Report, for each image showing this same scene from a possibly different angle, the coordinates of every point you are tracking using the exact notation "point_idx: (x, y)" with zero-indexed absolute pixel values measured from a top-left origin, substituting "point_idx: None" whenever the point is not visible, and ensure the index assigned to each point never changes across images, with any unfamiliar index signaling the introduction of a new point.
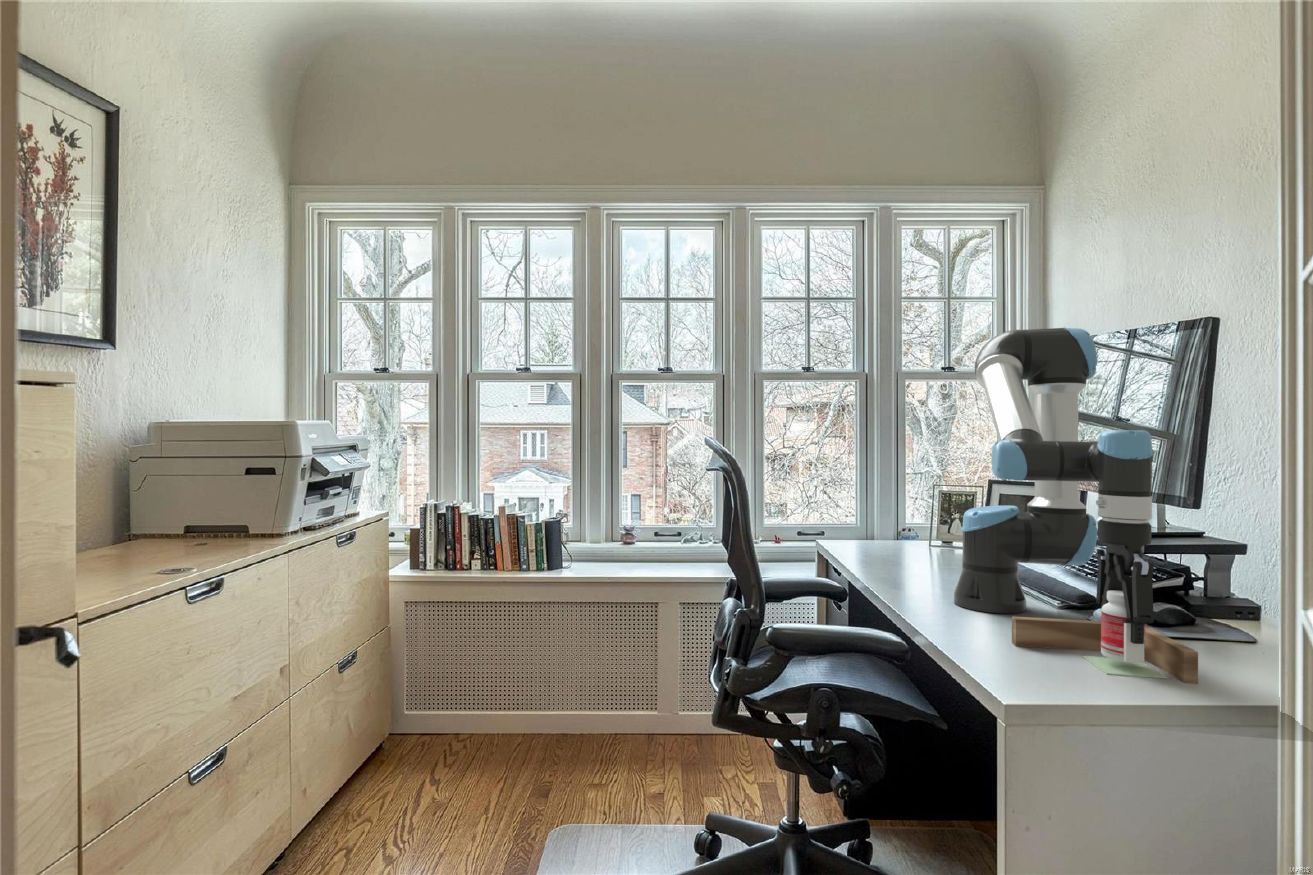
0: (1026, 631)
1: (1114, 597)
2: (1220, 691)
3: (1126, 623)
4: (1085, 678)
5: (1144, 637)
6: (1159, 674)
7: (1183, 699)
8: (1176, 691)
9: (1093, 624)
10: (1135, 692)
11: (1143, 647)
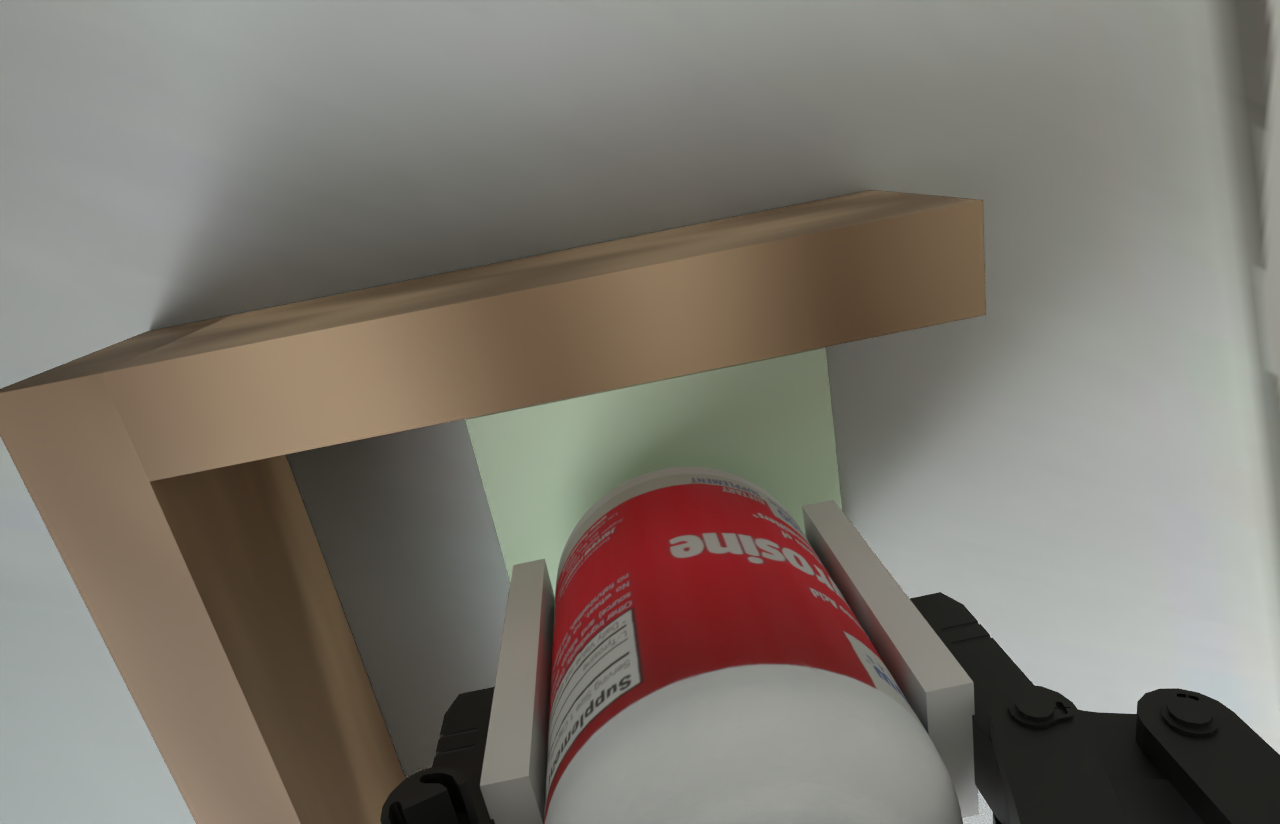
0: None
1: None
2: (997, 102)
3: (975, 807)
4: None
5: (790, 559)
6: (782, 381)
7: (1181, 380)
8: (1056, 373)
9: (281, 769)
10: (1115, 576)
11: (878, 559)
